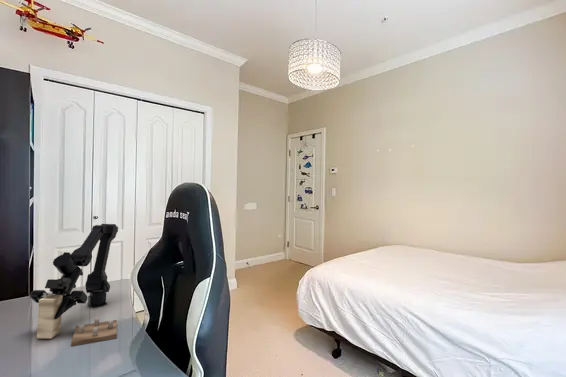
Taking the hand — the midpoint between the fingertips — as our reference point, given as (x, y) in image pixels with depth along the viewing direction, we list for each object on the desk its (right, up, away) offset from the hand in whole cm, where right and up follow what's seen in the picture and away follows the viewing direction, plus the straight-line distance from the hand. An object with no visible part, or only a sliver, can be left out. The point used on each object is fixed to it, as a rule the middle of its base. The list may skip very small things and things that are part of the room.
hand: (47, 318), depth 108 cm
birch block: (0, -7, +1) cm, 7 cm away
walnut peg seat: (+15, -8, +5) cm, 17 cm away
